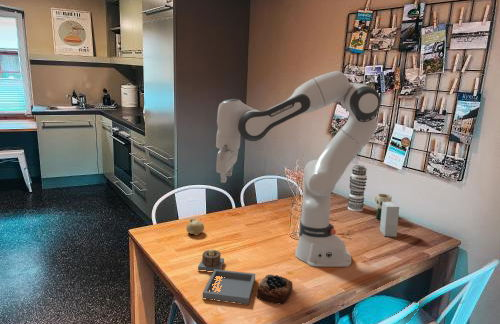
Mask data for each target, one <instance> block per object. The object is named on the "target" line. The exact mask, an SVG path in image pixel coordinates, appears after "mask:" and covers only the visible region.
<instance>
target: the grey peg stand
mask: <svg viewBox="0 0 500 324" xmlns="http://www.w3.org/2000/svg"><path fill="white" fill-rule="evenodd" d="M208 250H209V256H214V250H215V249H211V248H210V249H208ZM223 263H224V264H225V258H223V257H220V264H219V265H217V266H214V267H213V266H212V267H209V266H205V265H204V264H203V263H202V260H200V263H199V264H198V266H197V271H198V270H206V271H214V269H217V270H222V269H221V267H222V265H223V266H224V264H223ZM222 268H223V267H222Z"/></svg>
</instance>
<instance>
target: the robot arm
mask: <svg viewBox="0 0 500 324" xmlns="http://www.w3.org/2000/svg"><path fill="white" fill-rule="evenodd" d="M335 103H339V105H340V106H341V108H343V109H344V110H346V111H347V112H348V113H349V115H348V119H347V121H345V122H346V123H344V125H342V127H341V128H340V129H339V130H338V131H337V133H336V134H334V136H333V137H332V138H331V140H330V141H329V142H328V143H327V144H326V146H325V148H324V150H323V151H322V153H321V154H320V156H319V158H318V159H312V160H309V161H308V162H307V163H306V164H305V166H304V169H303V174H302V175H303V177H302V178H303V179H302V205H301V220H300V223H299V230H298V233H299V239H298V243H297V245H296V248H295V252H294V254H295V256H296V258H297V259H298V260H300V261H302V262H304V263H307V264H308V265H309V266H310V267H324V268H325V267H330V268H331V267H332V268H333V267H339V268H343V267H345V268H348V267H350V266H351V264H352V256H351V253H350V252H349V251H348V250H347V247H346V244H345V243H344V240H342V239H341V237H339V236H338V235H337V234H336V233H337V232H336V229H335V227H334V225H333V223H332V222H331V223H330V215H331V193H332V192H333V191H334V190H335V187H336V185H337V183H338V182H339V180H340V179H341V178H342V176H343V174H344V173H345V172H346V170H347V168H348V166H350V165H351V163H352V161H353V160H354V159H355V158H356V157H357V156H358V154H359V153H360V152H361V151H362V150H363V149H364V147H366V145H367V144H368V143H369V141H370V140H371V139H372V137H373V136H374V134H375V132H376V131H377V129H378V126H379V124H378V121H377V118H376V117H377V116H378V111H379V109H380V107H381V103H382V99H381V95H380V93H379V92H378V90H377V89H375V88H374V87H372V86H369V85H368V84H365V83H358V82H356V81H355V82H354V81H349V79H348V77H347V75H346V74H344V72H342V71H339V70H335V71H331V72H326V73H324V74H321V75H319V76H316V77H313V78H311V79H309V80H307V81H306V82H304V83H302V84H301V85H299V86H298V87H297V88H295V90H294V91H293V93H292V95H290V96H289V97H288V98H287V99H286V100H284V101H282V102H280V103H278V104H276V105H274V106H271V107H270V108H268V109H266V110H261V111H260V110H258V109H255V108H253V107H251V106H249V105H247V104H245V103H244V102H242V101H241V100H240V99H239V98H231V99H225V100H223V101H221V102H220V103H219V105H218V108H217V117H216V124H217V125H216V126H217V131H216V137H215V139H216V140H215V141H216V143H215V147H216V148H217V149H219V150H218V152H217V155H216V166H215V171H216V173H218V174H219V176H220V183H221V184H222V183H224V184H226V182H227V177H232V174H233V168H234V166H235V164H236V163H237V161H238V155H239V149H240V147H241V137H242V138H243V139H244V140H246V141H250V142H257V141H260V140H261V139H263V138H264V137H265V136H266V135H267V134H268V133H269V132H270V130H271V129H274V128H275V127H277V126H279V125H281V124H283V123H285V122H287V121H288V120H291V119H293V118H295V117H297V116H300V115H304V114H309V113H311V112H312V113H313V112H315V111H318V110H320V109H323V108H325V107H327V106H330V105H331V104H335Z"/></svg>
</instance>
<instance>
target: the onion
mask: <svg viewBox="0 0 500 324" xmlns="http://www.w3.org/2000/svg"><path fill="white" fill-rule="evenodd" d="M204 230H205V225H204V223H203V222H202V221H200V220H199V219H196V218H191V219H190V220H189V221H188V223H187V224H186V232H187V233H188V234H189V233H190V234H189V235H191V234H199V235H201V234H202V233H203V231H204ZM200 233H201V234H200Z"/></svg>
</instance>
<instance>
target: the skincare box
mask: <svg viewBox="0 0 500 324" xmlns="http://www.w3.org/2000/svg"><path fill="white" fill-rule="evenodd" d="M399 214H400V206H399V205H398V204H397V203H395V202H394V201H392V202H382V211H381V220H380V225H379V231H380V232H381V233H382V234H383V236H384V237H391V238H397V236H398V235H397V234H398V225H399V216H400V215H399Z"/></svg>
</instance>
